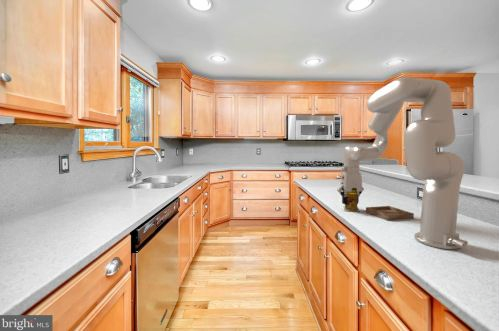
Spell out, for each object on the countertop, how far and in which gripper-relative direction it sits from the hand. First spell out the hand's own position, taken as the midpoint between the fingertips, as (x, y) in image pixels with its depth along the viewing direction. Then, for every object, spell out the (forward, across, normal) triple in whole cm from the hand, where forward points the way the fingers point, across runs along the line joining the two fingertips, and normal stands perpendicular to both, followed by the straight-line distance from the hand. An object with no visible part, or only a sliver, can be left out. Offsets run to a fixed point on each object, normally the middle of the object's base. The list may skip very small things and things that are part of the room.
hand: (350, 203), depth 120 cm
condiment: (+3, +1, 0) cm, 4 cm away
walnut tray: (+3, +12, -13) cm, 18 cm away
